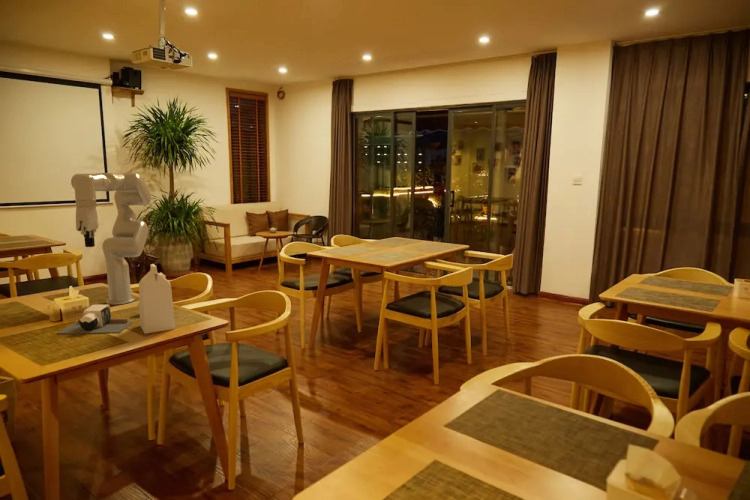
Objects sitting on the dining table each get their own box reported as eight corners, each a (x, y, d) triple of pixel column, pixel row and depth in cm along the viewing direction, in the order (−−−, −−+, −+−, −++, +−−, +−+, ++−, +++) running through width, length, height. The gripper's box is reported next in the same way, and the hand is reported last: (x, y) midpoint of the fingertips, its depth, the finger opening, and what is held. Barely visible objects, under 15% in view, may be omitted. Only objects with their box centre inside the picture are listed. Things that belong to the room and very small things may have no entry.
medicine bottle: (112, 320, 208) (96, 332, 196) (95, 319, 208) (78, 332, 196) (109, 304, 206) (93, 316, 194) (92, 304, 206) (75, 315, 194)
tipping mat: (74, 323, 206) (74, 319, 206) (133, 322, 208) (133, 318, 208) (56, 334, 193) (56, 329, 193) (119, 333, 195) (119, 328, 195)
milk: (140, 325, 205) (135, 264, 201) (169, 320, 211) (165, 261, 207) (144, 333, 195) (140, 269, 191) (175, 328, 201) (171, 266, 197)
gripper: (86, 202, 215) (89, 244, 219) (67, 205, 201) (71, 249, 204) (103, 202, 216) (107, 244, 219) (86, 205, 201) (90, 249, 204)
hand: (90, 246), depth 211 cm, fingers closed
